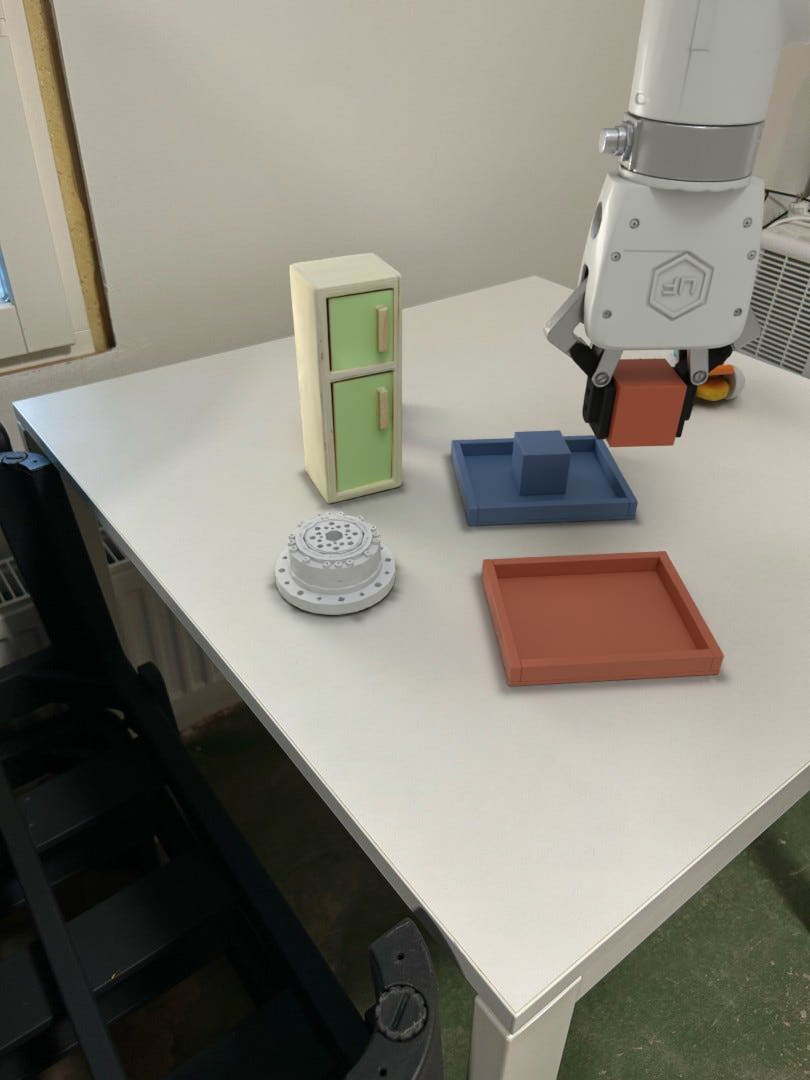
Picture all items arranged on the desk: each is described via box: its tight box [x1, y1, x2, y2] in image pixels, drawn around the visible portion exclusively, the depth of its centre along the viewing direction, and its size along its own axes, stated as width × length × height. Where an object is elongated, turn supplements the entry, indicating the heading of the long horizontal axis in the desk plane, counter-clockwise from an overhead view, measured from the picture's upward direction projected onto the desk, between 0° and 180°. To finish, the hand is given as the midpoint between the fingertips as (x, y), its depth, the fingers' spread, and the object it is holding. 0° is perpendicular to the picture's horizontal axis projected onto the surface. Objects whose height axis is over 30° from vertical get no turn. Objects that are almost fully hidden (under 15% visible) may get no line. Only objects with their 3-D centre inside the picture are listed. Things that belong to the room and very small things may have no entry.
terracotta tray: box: [480, 550, 725, 687], centre depth 64 cm, size 16×13×2 cm
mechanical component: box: [274, 511, 397, 616], centre depth 68 cm, size 10×4×10 cm
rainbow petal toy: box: [658, 350, 746, 402], centre depth 96 cm, size 8×10×7 cm
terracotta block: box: [605, 358, 687, 448], centre depth 57 cm, size 4×4×4 cm
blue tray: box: [450, 434, 639, 527], centre depth 80 cm, size 16×13×2 cm
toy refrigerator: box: [288, 252, 403, 504], centre depth 75 cm, size 8×7×21 cm
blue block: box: [511, 429, 571, 496], centre depth 79 cm, size 4×4×4 cm
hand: (633, 426), depth 58 cm, fingers closed on terracotta block, 4 cm apart
